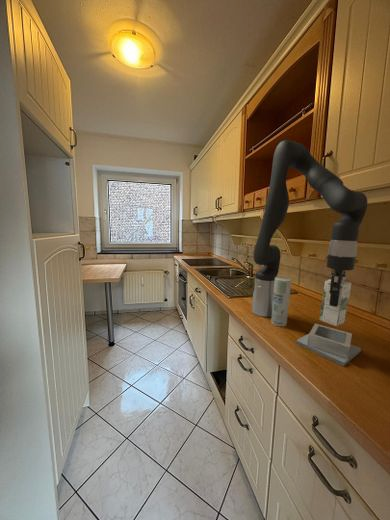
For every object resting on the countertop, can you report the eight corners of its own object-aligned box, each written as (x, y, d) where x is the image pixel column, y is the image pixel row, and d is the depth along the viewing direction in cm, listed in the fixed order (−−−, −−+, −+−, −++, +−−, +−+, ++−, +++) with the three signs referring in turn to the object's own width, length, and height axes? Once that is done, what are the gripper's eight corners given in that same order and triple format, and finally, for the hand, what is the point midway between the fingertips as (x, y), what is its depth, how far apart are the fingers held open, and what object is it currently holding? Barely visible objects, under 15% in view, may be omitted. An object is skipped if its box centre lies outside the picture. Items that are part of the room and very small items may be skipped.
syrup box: (327, 316, 75) (332, 278, 73) (345, 323, 71) (352, 282, 68) (318, 320, 72) (324, 279, 70) (337, 327, 68) (343, 284, 65)
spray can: (289, 324, 90) (294, 279, 87) (280, 327, 87) (285, 281, 84) (276, 318, 96) (280, 276, 92) (267, 321, 92) (271, 277, 89)
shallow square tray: (307, 345, 72) (308, 334, 71) (313, 333, 81) (315, 323, 80) (347, 359, 65) (349, 347, 64) (350, 344, 73) (352, 333, 73)
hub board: (295, 343, 75) (296, 340, 75) (315, 332, 83) (315, 330, 83) (343, 366, 63) (344, 362, 63) (360, 351, 71) (361, 348, 71)
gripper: (331, 251, 76) (325, 295, 78) (324, 254, 65) (318, 305, 67) (357, 253, 71) (349, 300, 74) (354, 257, 60) (346, 312, 63)
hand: (334, 302), depth 70 cm, fingers closed on syrup box, 6 cm apart
